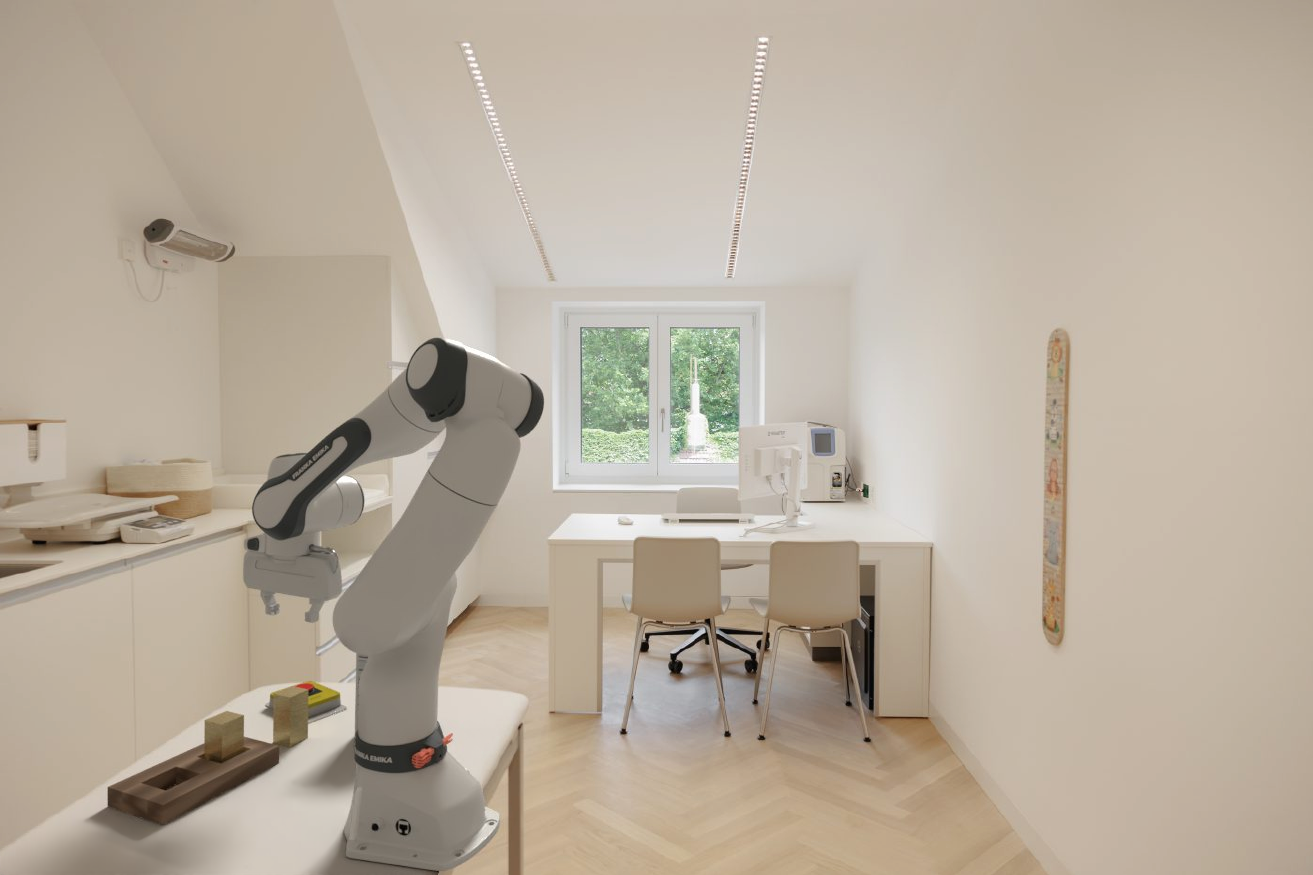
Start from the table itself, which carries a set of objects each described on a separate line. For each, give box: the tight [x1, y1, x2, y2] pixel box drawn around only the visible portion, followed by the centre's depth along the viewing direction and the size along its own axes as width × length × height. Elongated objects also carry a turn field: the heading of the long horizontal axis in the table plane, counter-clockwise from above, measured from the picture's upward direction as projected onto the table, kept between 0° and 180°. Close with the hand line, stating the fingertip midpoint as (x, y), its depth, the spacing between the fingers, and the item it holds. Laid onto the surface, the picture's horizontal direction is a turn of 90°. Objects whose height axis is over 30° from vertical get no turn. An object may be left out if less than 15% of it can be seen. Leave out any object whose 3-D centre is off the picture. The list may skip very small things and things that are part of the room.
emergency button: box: [265, 680, 348, 725], centre depth 146 cm, size 9×4×15 cm
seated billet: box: [203, 710, 245, 763], centre depth 120 cm, size 4×4×9 cm
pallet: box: [107, 736, 280, 826], centre depth 116 cm, size 12×20×3 cm, turn 159°
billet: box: [272, 685, 309, 748], centre depth 131 cm, size 4×4×9 cm
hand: (291, 617), depth 131 cm, fingers open, 8 cm apart
